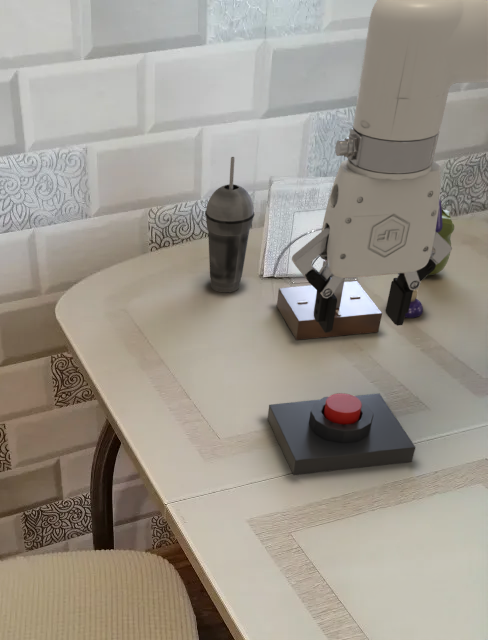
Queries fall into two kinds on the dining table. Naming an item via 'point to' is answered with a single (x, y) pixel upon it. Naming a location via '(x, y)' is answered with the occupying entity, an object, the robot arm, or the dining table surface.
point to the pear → (446, 235)
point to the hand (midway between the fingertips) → (359, 321)
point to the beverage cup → (228, 233)
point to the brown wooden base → (349, 318)
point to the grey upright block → (338, 291)
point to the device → (339, 436)
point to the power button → (342, 408)
